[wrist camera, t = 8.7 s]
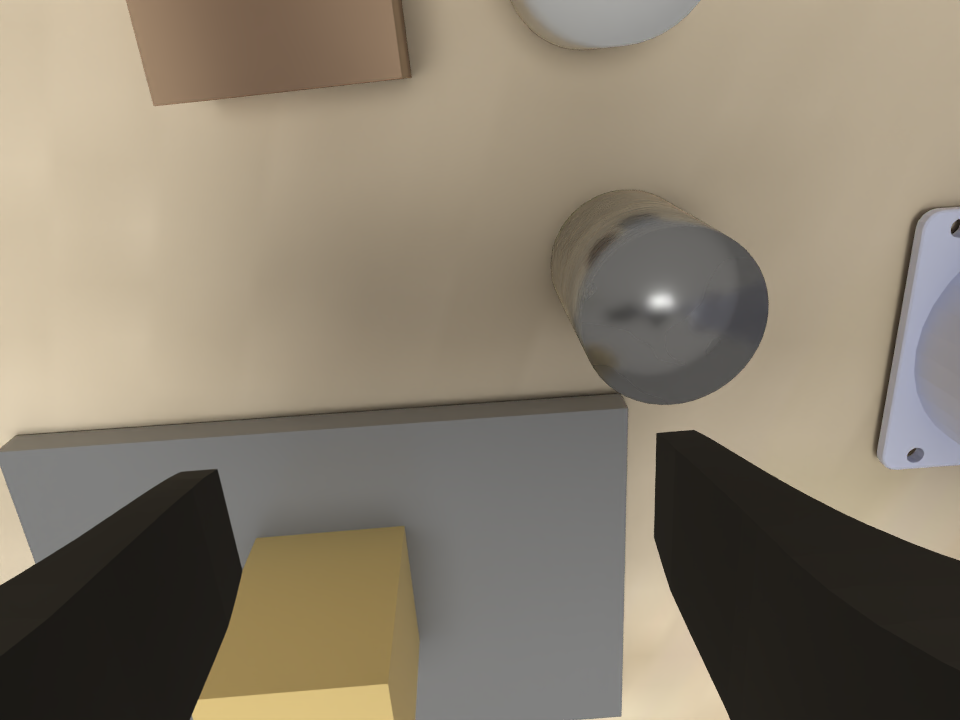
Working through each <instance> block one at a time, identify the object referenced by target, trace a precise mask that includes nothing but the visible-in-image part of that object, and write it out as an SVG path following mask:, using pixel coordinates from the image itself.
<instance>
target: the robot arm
mask: <svg viewBox="0 0 960 720" xmlns="http://www.w3.org/2000/svg"><path fill="white" fill-rule="evenodd" d="M957 219H960V207H948V208H936V209H932V210H929V211H928V212H926V213H925V214H923V216H922V217H921V218H920V219H919V221H918V223H917V226H916V230H915V235H914V241H913V247H912V253H911V258H910V264H909V270H908V276H907V281H906V287H905V293H904V299H903V304H902V310H901V316H900V322H899V328H898V333H897V339H896V345H895V351H894V356H893V362H892V368H891V374H890V379H889V385H888V391H887V397H886V402H885V408H884V414H883V420H882V426H881V431H880V437H879V443H878V449H877V458H878V459H879V461H880V462H881V463H882V464H883V465H884V466H885V467H887V468H889V469H894V470H899V469H913V468H927V467H941V466H955V465H960V226H959V229H958V230H957V231H956V232H955V233H953V234H951V227H952V224H953V223H954V222H955V221H956V220H957ZM914 448H916V450H915V452H914V453H913V454H912V455H910V456H907V455H908V453H909V451H911V450H912V449H914ZM654 539H655V542H656V545H657V549H658V552H659V555H660V559H661V562H662V566H663V569H664V572H665V575H666V578H667V581H668V584H669V587H670V590H671V592H672V595H673V597H674V599H675V601H676V604H677V606H678V608H679V610H680V612H681V614H682V617H683V619H684V621H685V623H686V625H687V627H688V630H689V632H690V634H691V636H692V638H693V640H694V642H695V645H696V647H697V649H698V651H699V653H700V655H701V657H702V659H703V662H704V664H705V666H706V668H707V670H708V672H709V674H710V676H711V679H712V681H713V683H714V685H715V687H716V689H717V691H718V693H719V696H720V698H721V700H722V702H723V704H724V706H725V708H726V710H727V713H728V715H729V718H730V720H960V561H959V560H956V559H953V558H950V557H947V556H944V555H941V554H939V553H936V552H933V551H931V550H928V549H925V548H923V547H920V546H917V545H915V544H912V543H910V542H907V541H905V540H903V539H900V538H898V537H895V536H893V535H891V534H888V533H886V532H884V531H881V530H879V529H876V528H874V527H872V526H869V525H867V524H865V523H863V522H860V521H858V520H856V519H854V518H852V517H850V516H847V515H845V514H843V513H841V512H839V511H837V510H835V509H833V508H831V507H829V506H828V505H826V504H824V503H822V502H820V501H818V500H816V499H814V498H812V497H810V496H808V495H806V494H804V493H802V492H801V491H799V490H797V489H795V488H793V487H791V486H790V485H788V484H786V483H784V482H783V481H781V480H779V479H777V478H776V477H774V476H772V475H770V474H769V473H767V472H765V471H764V470H762V469H760V468H758V467H757V466H755V465H753V464H752V463H750V462H748V461H747V460H745V459H743V458H742V457H740V456H738V455H737V454H735V453H734V452H732V451H730V450H729V449H727V448H725V447H724V446H722V445H720V444H719V443H717V442H715V441H713V440H712V439H710V438H708V437H706V436H705V435H703V434H701V433H699V432H697V431H695V430H689V431H677V432H664V433H657V436H656V478H655V520H654ZM241 576H242V567H241V563H240V558H239V554H238V550H237V546H236V542H235V538H234V534H233V530H232V526H231V522H230V518H229V514H228V509H227V505H226V501H225V497H224V493H223V489H222V485H221V481H220V477H219V473H218V469H208V470H196V471H184V472H179V473H177V474H175V475H173V476H171V477H169V478H168V479H166V480H164V481H163V482H161V483H159V484H158V485H156V486H155V487H153V488H151V489H150V490H148V491H147V492H145V493H144V494H142V495H141V496H139V497H138V498H136V499H135V500H133V501H132V502H130V503H129V504H127V505H126V506H124V507H123V508H121V509H120V510H118V511H117V512H115V513H114V514H112V515H111V516H109V517H108V518H106V519H105V520H103V521H102V522H100V523H99V524H97V525H96V526H94V527H93V528H91V529H90V530H88V531H87V532H85V533H84V534H82V535H81V536H79V537H78V538H76V539H75V540H73V541H72V542H70V543H68V544H67V545H65V546H64V547H62V548H60V549H59V550H57V551H56V552H54V553H52V554H51V555H49V556H48V557H46V558H44V559H43V560H41V561H40V562H38V563H36V564H35V565H33V566H32V567H30V568H28V569H27V570H25V571H24V572H22V573H20V574H19V575H17V576H16V577H14V578H12V579H10V580H9V581H7V582H5V583H4V584H2V585H0V720H190V718H191V716H192V713H193V711H194V709H195V706H196V704H197V701H198V699H199V697H200V694H201V692H202V690H203V687H204V685H205V682H206V680H207V678H208V675H209V673H210V671H211V668H212V666H213V663H214V661H215V658H216V656H217V654H218V651H219V649H220V646H221V644H222V641H223V639H224V636H225V634H226V631H227V629H228V626H229V622H230V619H231V615H232V611H233V608H234V604H235V601H236V596H237V592H238V588H239V584H240V580H241Z"/></svg>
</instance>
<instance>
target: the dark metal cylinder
mask: <svg viewBox="0 0 960 720" xmlns="http://www.w3.org/2000/svg"><path fill="white" fill-rule="evenodd" d="M551 276H552V281H553V285H554V288H555V290H556V293H557V295H558V297H559V299H560V301H561V303H562V305H563V307H564V309H565V311H566V313H567V316H568V318H569V320H570V322H571V324H572V326H573V328H574V330H575V332H576V334H577V336H578V338H579V340H580V342H581V344H582V346H583V348H584V350H585V352H586V354H587V357H588V359H589V360H590V362H591V364H592V366H593V368H594V369H595V371H596V372H597V373H598V375H599V376H600V377H601V378H602V379H603V380H604V381H605V382H606V383H607V384H608V385H609V386H610V387H612V388H613V389H614V390H616V391H617V392H619V393H621V394H623V395H624V396H626V397H629V398H631V399H634V400H636V401H640V402H644V403H649V404H658V405H671V404H679V403H685V402H689V401H693V400H696V399H699V398H701V397H704V396H706V395H708V394H710V393H712V392H714V391H716V390H718V389H719V388H721V387H722V386H724V385H725V384H727V383H728V382H729V381H731V380H732V379H733V378H734V377H735V376H736V375H737V374H738V373H739V372H740V371H741V370H742V369H743V368H744V367H745V366H746V365H747V363H748V362H749V361H750V359H751V358H752V356H753V355H754V353H755V351H756V350H757V348H758V346H759V344H760V342H761V339H762V337H763V334H764V331H765V327H766V323H767V317H768V293H767V288H766V284H765V280H764V277H763V275H762V273H761V270H760V268H759V267H758V265H757V263H756V262H755V260H754V259H753V257H752V256H751V255H750V254H749V253H748V252H747V250H746V249H744V248H743V247H742V246H741V245H740V244H739V243H737V242H736V241H734V240H733V239H731V238H729V237H728V236H726V235H724V234H723V233H721V232H719V231H718V230H716V229H714V228H712V227H711V226H709V225H707V224H705V223H704V222H702V221H700V220H698V219H697V218H695V217H693V216H692V215H690V214H688V213H686V212H685V211H683V210H681V209H679V208H678V207H676V206H674V205H673V204H671V203H669V202H667V201H666V200H664V199H662V198H660V197H658V196H656V195H654V194H651V193H648V192H644V191H639V190H618V191H612V192H608V193H604V194H602V195H600V196H597V197H595V198H593V199H591V200H589V201H588V202H586V203H585V204H583V205H582V206H581V207H579V208H578V209H577V210H576V211H575V212H574V213H573V214H572V215H571V216H570V217H569V218H568V220H567V221H566V222H565V223H564V225H563V227H562V228H561V230H560V232H559V234H558V236H557V238H556V240H555V244H554V247H553V251H552V256H551Z"/></svg>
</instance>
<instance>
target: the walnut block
mask: <svg viewBox="0 0 960 720" xmlns="http://www.w3.org/2000/svg"><path fill="white" fill-rule="evenodd" d="M126 2H127V6H128V10H129V14H130V17H131V21H132V25H133V29H134V33H135V36H136V40H137V44H138V48H139V52H140V55H141V59H142V63H143V67H144V71H145V74H146V78H147V82H148V86H149V90H150V94H151V97H152V101H153V105H154V106H160V105H169V104H179V103H189V102H198V101H208V100H217V99H226V98H235V97H244V96H253V95H262V94H270V93H279V92H288V91H297V90H306V89H315V88H324V87H333V86H341V85H350V84H359V83H368V82H377V81H386V80H395V79H404V78H412V77H411V69H410V62H409V54H408V46H407V39H406V31H405V23H404V16H403V8H402V0H126Z"/></svg>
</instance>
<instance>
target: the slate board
mask: <svg viewBox="0 0 960 720" xmlns="http://www.w3.org/2000/svg"><path fill="white" fill-rule="evenodd" d="M627 437H628V407H627V405H626V403H625V401H624V399H623V397H622V396H621V394H606V395H591V396H577V397H563V398H548V399H534V400H520V401H505V402H491V403H477V404H462V405H448V406H434V407H420V408H405V409H391V410H377V411H362V412H348V413H334V414H319V415H305V416H291V417H276V418H262V419H248V420H233V421H219V422H205V423H190V424H176V425H162V426H147V427H133V428H119V429H104V430H90V431H76V432H61V433H47V434H33V435H18V436H15V437H13V438H12V439H11V440H10V441H9V442H7V443H6V444H5V445H4V446H2V447H1V448H0V467H1V469H2V472H3V475H4V478H5V481H6V483H7V486H8V489H9V492H10V494H11V497H12V500H13V503H14V505H15V508H16V511H17V514H18V516H19V519H20V522H21V525H22V528H23V530H24V533H25V536H26V539H27V541H28V544H29V547H30V550H31V552H32V555H33V558H34V561H35V564H36V563H38V562H40V561H41V560H43V559H44V558H46V557H48V556H49V555H51V554H52V553H54V552H56V551H57V550H59V549H60V548H62V547H64V546H65V545H67V544H68V543H70V542H72V541H73V540H75V539H76V538H78V537H79V536H81V535H82V534H84V533H85V532H87V531H88V530H90V529H91V528H93V527H94V526H96V525H97V524H99V523H100V522H102V521H103V520H105V519H106V518H108V517H109V516H111V515H112V514H114V513H115V512H117V511H118V510H120V509H121V508H123V507H124V506H126V505H127V504H129V503H130V502H132V501H133V500H135V499H136V498H138V497H139V496H141V495H142V494H144V493H145V492H147V491H148V490H150V489H151V488H153V487H155V486H156V485H158V484H159V483H161V482H163V481H164V480H166V479H168V478H169V477H171V476H173V475H175V474H177V473H179V472H184V471H196V470H208V469H218V473H219V477H220V481H221V485H222V489H223V493H224V497H225V501H226V505H227V509H228V514H229V518H230V522H231V526H232V530H233V534H234V538H235V542H236V546H237V550H238V554H239V558H240V563H241V567H242V570H243V568H244V566H245V563H246V561H247V558H248V556H249V554H250V551H251V549H252V547H253V544H254V542H255V540H256V538H263V537H275V536H287V535H299V534H311V533H324V532H336V531H348V530H360V529H372V528H384V527H396V526H404V527H405V534H406V542H407V549H408V557H409V564H410V572H411V579H412V587H413V594H414V602H415V609H416V617H417V624H418V632H419V640H420V644H419V662H418V680H417V698H416V716H415V720H581V719H594V718H607V717H620V716H621V710H622V664H623V619H624V573H625V528H626V482H627ZM190 720H193V717H192V716H191V718H190Z"/></svg>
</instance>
